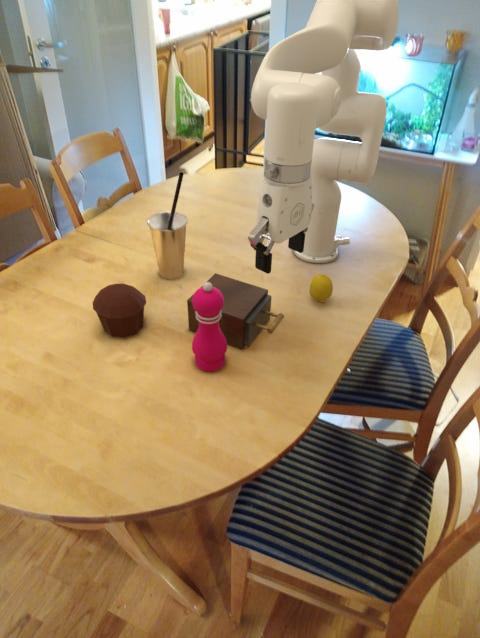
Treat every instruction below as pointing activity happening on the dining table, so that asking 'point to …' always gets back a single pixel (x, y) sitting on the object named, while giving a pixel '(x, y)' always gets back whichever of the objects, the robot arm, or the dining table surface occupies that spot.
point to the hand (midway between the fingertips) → (279, 259)
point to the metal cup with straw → (169, 238)
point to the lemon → (321, 288)
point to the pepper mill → (209, 329)
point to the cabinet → (231, 307)
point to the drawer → (260, 321)
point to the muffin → (120, 309)
